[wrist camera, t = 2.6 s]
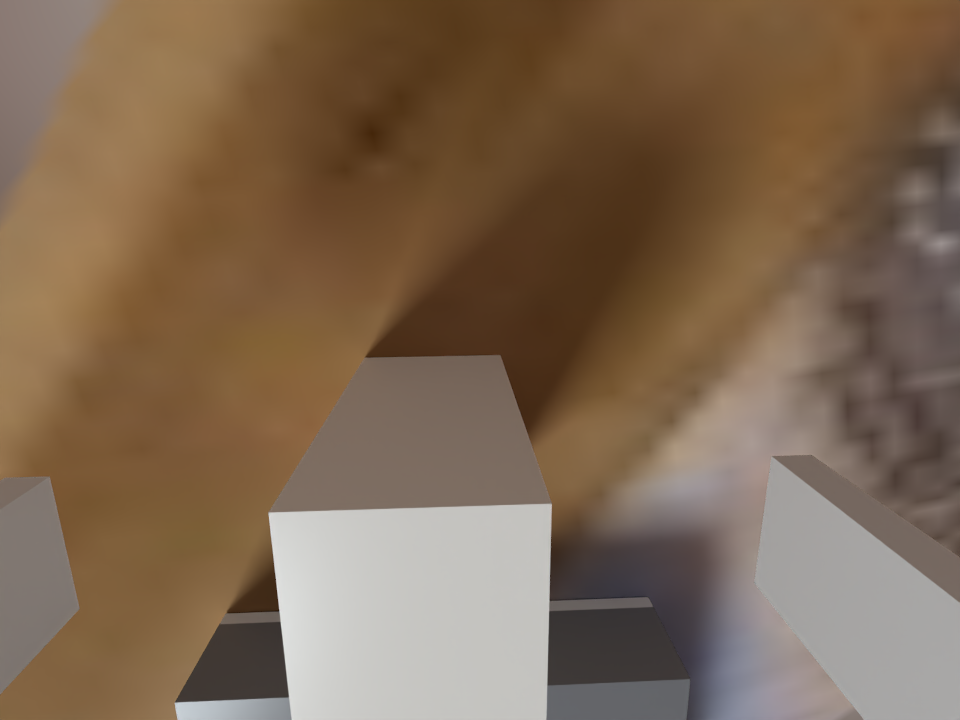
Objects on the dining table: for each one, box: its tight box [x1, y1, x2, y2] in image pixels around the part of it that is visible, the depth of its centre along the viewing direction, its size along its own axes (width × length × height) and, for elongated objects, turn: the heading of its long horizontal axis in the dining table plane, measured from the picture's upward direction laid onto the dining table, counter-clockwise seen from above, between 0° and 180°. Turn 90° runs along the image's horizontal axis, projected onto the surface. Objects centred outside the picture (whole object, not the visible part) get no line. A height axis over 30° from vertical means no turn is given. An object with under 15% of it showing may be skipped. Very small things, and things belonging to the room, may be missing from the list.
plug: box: [269, 355, 552, 720], centre depth 13 cm, size 4×4×9 cm
